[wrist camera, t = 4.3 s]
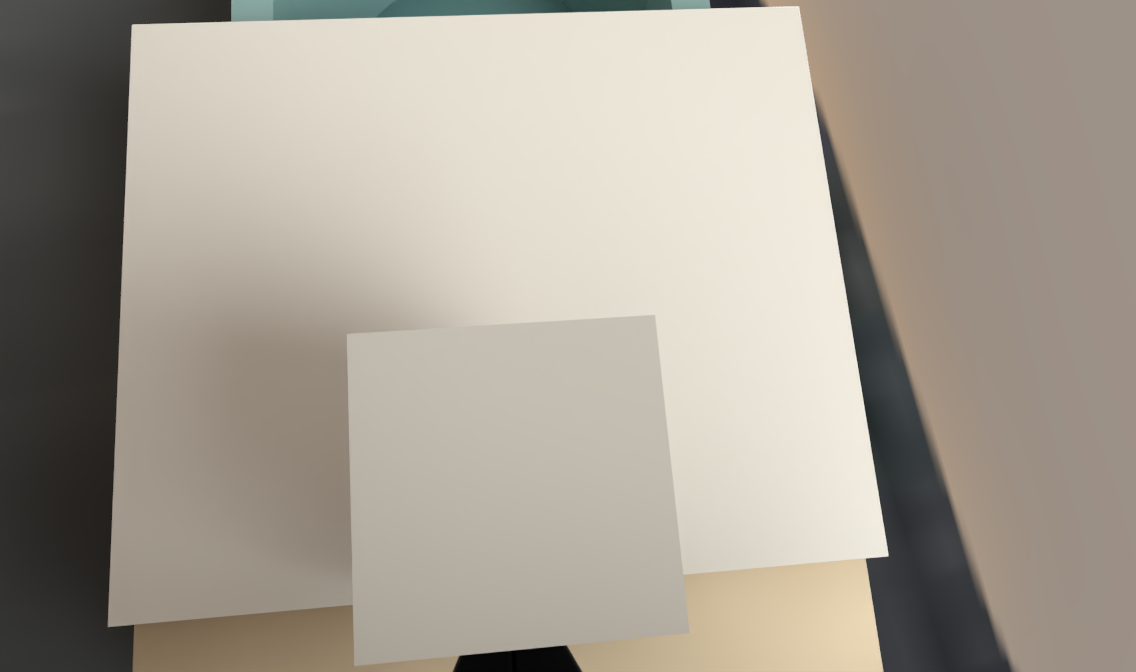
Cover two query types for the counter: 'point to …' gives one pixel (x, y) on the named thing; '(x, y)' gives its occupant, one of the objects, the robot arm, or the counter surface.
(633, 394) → the lid
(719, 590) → the block
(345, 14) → the bowl
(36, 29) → the counter surface
